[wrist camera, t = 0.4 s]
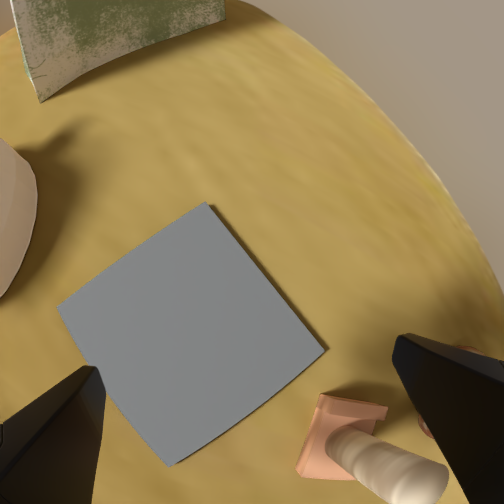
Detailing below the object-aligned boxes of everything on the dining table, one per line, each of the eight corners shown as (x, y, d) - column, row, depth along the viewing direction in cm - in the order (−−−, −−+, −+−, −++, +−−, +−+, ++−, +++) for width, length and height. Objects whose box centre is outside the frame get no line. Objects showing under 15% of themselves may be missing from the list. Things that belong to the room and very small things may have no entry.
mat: (321, 350, 23) (325, 350, 23) (169, 464, 19) (168, 467, 18) (205, 205, 26) (205, 201, 25) (60, 308, 21) (56, 307, 21)
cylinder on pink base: (345, 472, 20) (431, 533, 8) (295, 468, 20) (362, 548, 8) (369, 401, 22) (477, 425, 10) (320, 393, 22) (416, 425, 10)
